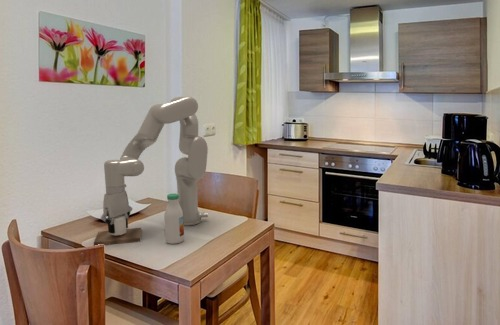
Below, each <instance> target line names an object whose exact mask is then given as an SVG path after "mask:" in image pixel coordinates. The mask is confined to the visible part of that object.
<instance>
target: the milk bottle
mask: <svg viewBox="0 0 500 325" xmlns="http://www.w3.org/2000/svg"><path fill="white" fill-rule="evenodd" d="M166 196H167V197H166V199H167V202H168V203H167V205H166V208H165V210H164V214H163V215H164V238H165V239H164V240H165V243H167V244H171V245H172V244H173V245H174V244H180V243H182V242H184V240H185V230H184V229H185V228H184V227H185V226H184V223H183V212H182V209H181V207H180V205H179V202H178V200H179V195H178V194H177V193H169V194H167V195H166Z"/></svg>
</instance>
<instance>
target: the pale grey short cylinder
mask: <svg viewBox="0 0 500 325" xmlns="http://www.w3.org/2000/svg"><path fill="white" fill-rule="evenodd" d="M110 220H111V218H110ZM113 224H114V226H115V233H111V235H122V234H124V233H126V231H127V229H128V228H126V217H125V215H120V216H117V217H114V221H113Z"/></svg>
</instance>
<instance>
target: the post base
mask: <svg viewBox="0 0 500 325" xmlns="http://www.w3.org/2000/svg"><path fill="white" fill-rule="evenodd" d="M126 229H127V231H126V233H124V234H122V235H111V233H109V231H108V230H102V231H101V230H99V231H97V234H96V236H95V239H94V241H93V246H94V245H98V244H105V245H104V246H108V245H109V244H110V245H117V244H119V245H120V244H128V243H135V242H136V243H137V242H138V241H139V242H141V240H142V239H141V237H142V227H134V228H126Z"/></svg>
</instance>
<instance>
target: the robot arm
mask: <svg viewBox="0 0 500 325" xmlns="http://www.w3.org/2000/svg"><path fill="white" fill-rule="evenodd" d="M198 109H199V103H198V101H197V99H195V98H194V97H192V96H177V97H176V96H175V97H173V98H172V99H171V100H170V102H168V103H156V104H154V105H152V106H151V107H150V108H149V109H148V112H147V114H146V116H144V117H145V118H144V120H142V121H143V122H142V123H141V125H140V127H139V130H138V132H137V133H136V134H135V135H134V137H132V139H131V140H130V141H129V143H128V144H127V145H126V146H125V148H124V150H123V152H122V154H121V156H120V158H119V159H110V160H106V161H105V162H104V163H103V167H104V168H103V170H104V182H105V193H104V194H103V201H102V204H103V206H102V207H103V208H102V211H103V212H102V213H103V214H102V215H100V219H101V220H102V221H103V222H105V223H106V224H107V228H108V230H107V231H109V233H115V226H114V224H113V221H114V217H117V216H120V215H125V217H126V229H129V225H128V223H129V222H128V221H129V218H130V217H129V216H130V214H131V212H132V211H133V207H131V206H130V202H129V198H128V194H127V190H126V188H127V184H126V183H125V177H139V176H140V175H142V174H143V172H144V170H145V166H144V163H143V161H142V160H140V159H139V158H140V156H141V155H142V153H143V152H144V151H145V150H146V149H147V148H149V147H151V146H152V145H154V144H155V143H156V142H157V140H158V139H159V136H160V134H161V132H162V130H163V128H164V127H165V125H168V124H172V123H175V122H178V121H179V141H178V148H179V151H180V153H182V154H184V155H186V156H187V157H186V156H185V157H180V158H178V159H177V160H176V162H175V164H174V173H175V174H174V175H175V180H176V188H177V189H176V190H177V191H176V192H177V193H176V194H178V195H179V200H178V202H179V205H180V207H181V209H182V212H183V223H184V227H185V226H195V225H198V224H200V223H202V218H208V214H209V213H208V212H200V211H199V204H198V199H199V198H198V182H197V181H199V180H201V179H203V177H204V176H205V175H206V171H207V163H208V152H209V151H208V150H209V149H208V143H207V141H206V139H205V138H204V137H202V136H200V135H199V119H198V118H197V115H196V114H197V112H198ZM110 218H111V220H110Z"/></svg>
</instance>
